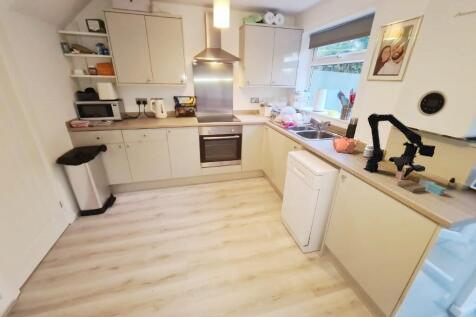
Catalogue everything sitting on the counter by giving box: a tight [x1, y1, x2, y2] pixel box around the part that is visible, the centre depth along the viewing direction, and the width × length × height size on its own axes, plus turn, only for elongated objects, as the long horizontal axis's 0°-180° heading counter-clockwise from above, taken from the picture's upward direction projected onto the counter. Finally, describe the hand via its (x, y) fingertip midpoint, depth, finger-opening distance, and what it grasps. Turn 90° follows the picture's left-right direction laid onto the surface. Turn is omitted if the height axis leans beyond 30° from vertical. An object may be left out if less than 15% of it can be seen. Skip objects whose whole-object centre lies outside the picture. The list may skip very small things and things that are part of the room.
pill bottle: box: [362, 143, 373, 161], centre depth 161 cm, size 6×6×11 cm
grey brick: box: [418, 178, 437, 190], centre depth 119 cm, size 6×4×4 cm, turn 16°
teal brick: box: [426, 183, 447, 196], centre depth 113 cm, size 6×4×4 cm, turn 16°
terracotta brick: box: [394, 170, 410, 180], centre depth 130 cm, size 6×4×4 cm, turn 105°
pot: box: [330, 135, 361, 154], centre depth 178 cm, size 18×17×12 cm
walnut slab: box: [396, 179, 426, 194], centre depth 117 cm, size 9×9×3 cm
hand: (401, 176), depth 130 cm, fingers closed on terracotta brick, 3 cm apart
